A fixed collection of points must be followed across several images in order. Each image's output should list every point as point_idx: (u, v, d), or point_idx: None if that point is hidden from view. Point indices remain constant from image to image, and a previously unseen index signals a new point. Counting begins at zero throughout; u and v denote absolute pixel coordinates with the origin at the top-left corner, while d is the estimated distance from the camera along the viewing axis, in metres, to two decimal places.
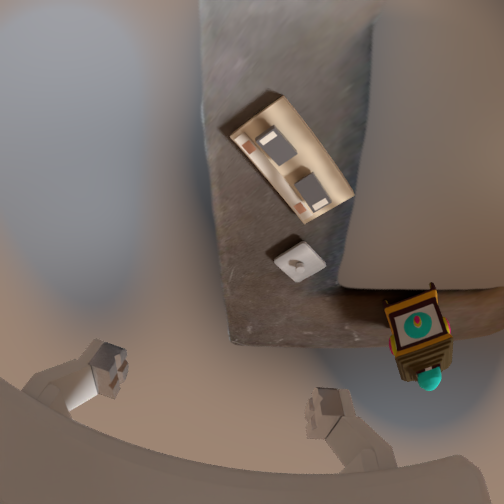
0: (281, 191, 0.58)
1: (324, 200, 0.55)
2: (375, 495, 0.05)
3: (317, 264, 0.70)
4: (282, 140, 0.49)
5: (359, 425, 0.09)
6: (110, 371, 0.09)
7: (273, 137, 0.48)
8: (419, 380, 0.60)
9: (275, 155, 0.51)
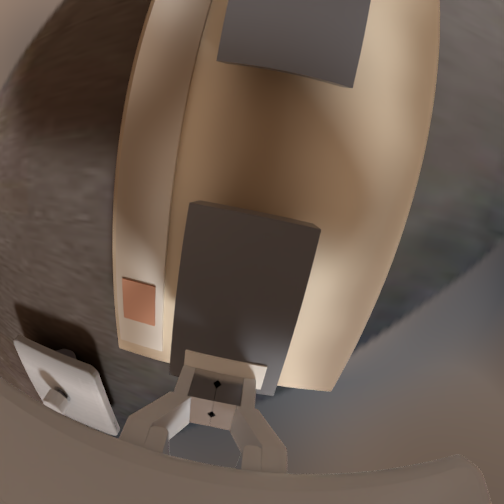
0: (125, 191, 0.11)
1: (254, 370, 0.10)
2: (375, 495, 0.05)
3: (99, 422, 0.20)
4: None
5: (253, 418, 0.08)
6: (213, 400, 0.09)
7: None
8: None
9: (258, 1, 0.06)
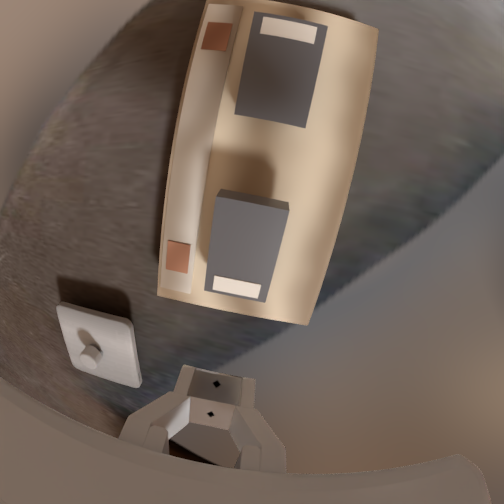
0: (175, 184, 0.20)
1: (253, 286, 0.19)
2: (375, 495, 0.05)
3: (125, 375, 0.28)
4: (311, 64, 0.14)
5: (252, 418, 0.08)
6: (213, 400, 0.09)
7: (301, 39, 0.13)
8: None
9: (256, 80, 0.15)
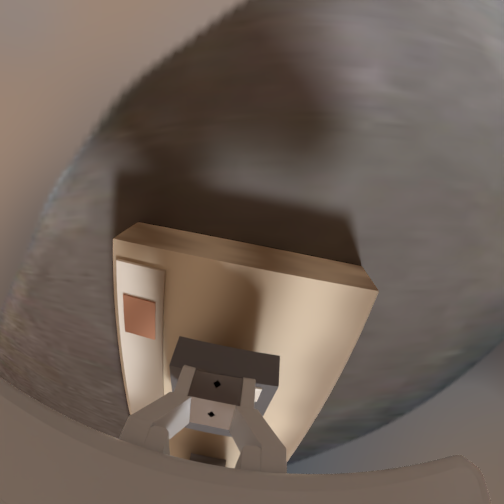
0: None
1: None
2: (375, 495, 0.05)
3: None
4: None
5: (253, 419, 0.08)
6: (213, 400, 0.09)
7: None
8: None
9: None
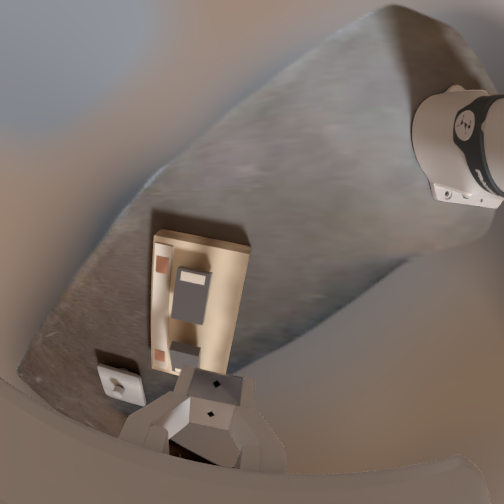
0: (154, 329, 0.42)
1: None
2: (375, 495, 0.05)
3: (137, 399, 0.50)
4: (203, 295, 0.36)
5: (252, 418, 0.08)
6: (213, 400, 0.09)
7: (198, 283, 0.36)
8: None
9: (179, 303, 0.36)
